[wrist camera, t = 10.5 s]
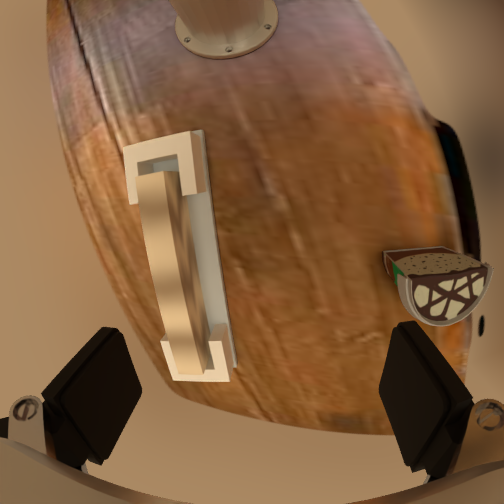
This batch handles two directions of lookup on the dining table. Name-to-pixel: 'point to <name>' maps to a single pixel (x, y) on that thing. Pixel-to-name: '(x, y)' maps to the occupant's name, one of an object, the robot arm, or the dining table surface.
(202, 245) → the frame
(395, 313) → the dining table surface
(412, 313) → the food container
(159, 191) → the slat
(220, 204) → the dining table surface
